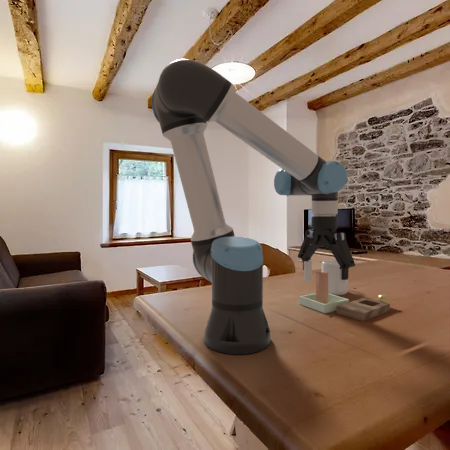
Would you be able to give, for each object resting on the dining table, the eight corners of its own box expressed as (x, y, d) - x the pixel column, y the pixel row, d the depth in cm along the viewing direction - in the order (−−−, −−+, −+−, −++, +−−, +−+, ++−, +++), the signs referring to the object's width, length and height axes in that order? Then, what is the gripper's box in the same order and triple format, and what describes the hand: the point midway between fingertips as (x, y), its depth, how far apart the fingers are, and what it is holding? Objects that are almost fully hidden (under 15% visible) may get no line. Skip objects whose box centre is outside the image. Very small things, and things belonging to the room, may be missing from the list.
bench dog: (384, 310, 94) (385, 297, 94) (375, 308, 97) (375, 295, 97) (391, 309, 96) (391, 296, 96) (381, 306, 99) (382, 293, 98)
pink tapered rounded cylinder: (321, 307, 95) (321, 274, 95) (313, 304, 99) (313, 272, 98) (331, 306, 97) (330, 273, 97) (322, 303, 100) (322, 271, 100)
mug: (342, 298, 108) (343, 265, 107) (317, 294, 113) (317, 262, 113) (354, 291, 117) (354, 260, 116) (330, 287, 122) (330, 258, 122)
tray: (324, 315, 91) (324, 304, 91) (299, 305, 100) (299, 296, 100) (348, 309, 96) (349, 299, 96) (322, 300, 105) (323, 291, 105)
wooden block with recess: (363, 324, 85) (363, 313, 85) (336, 316, 91) (336, 306, 91) (389, 313, 93) (389, 303, 93) (363, 307, 100) (363, 297, 99)
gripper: (369, 216, 88) (368, 293, 89) (304, 214, 109) (303, 276, 110) (350, 216, 84) (349, 297, 85) (287, 214, 105) (287, 279, 107)
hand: (323, 285), depth 98 cm, fingers open, 13 cm apart
